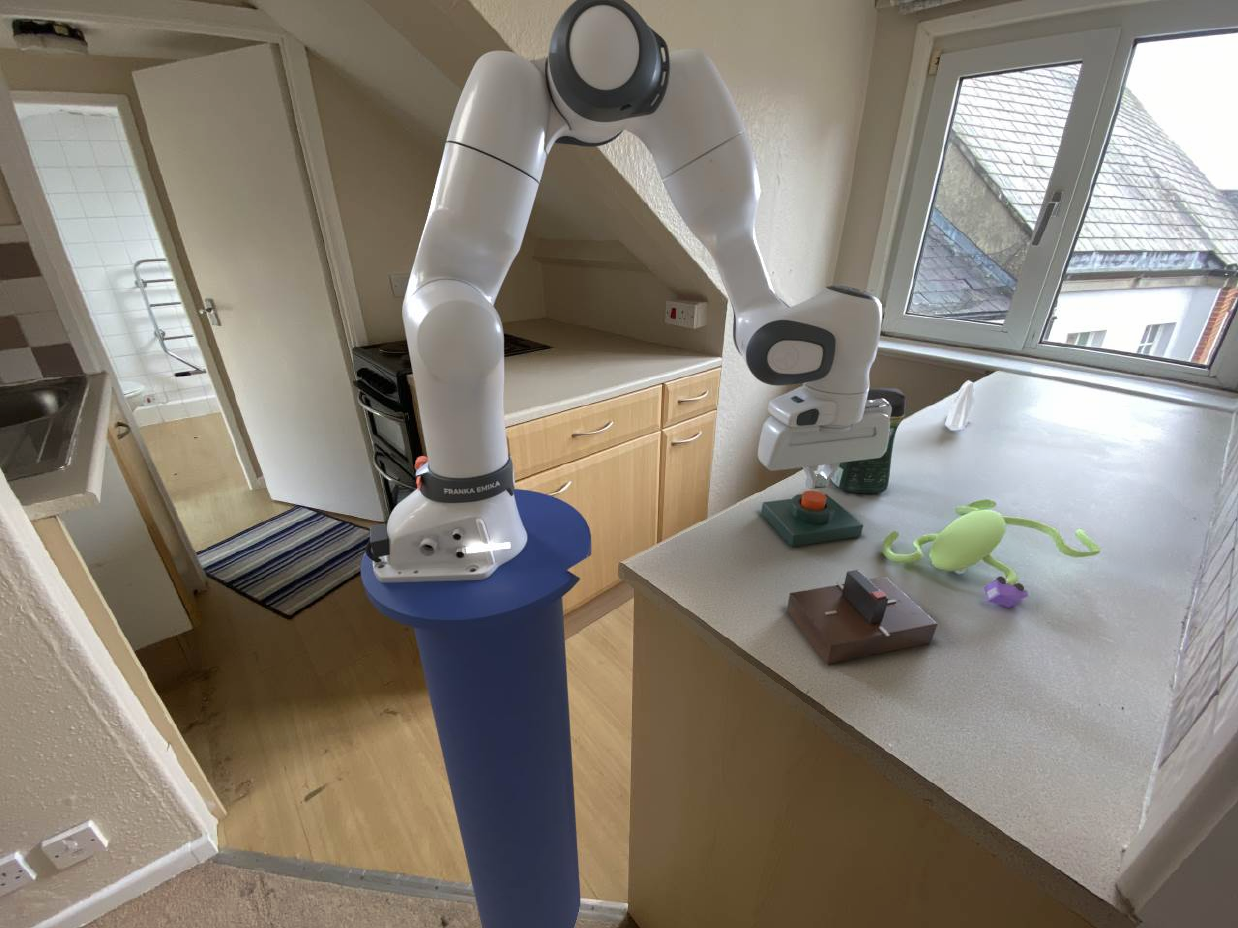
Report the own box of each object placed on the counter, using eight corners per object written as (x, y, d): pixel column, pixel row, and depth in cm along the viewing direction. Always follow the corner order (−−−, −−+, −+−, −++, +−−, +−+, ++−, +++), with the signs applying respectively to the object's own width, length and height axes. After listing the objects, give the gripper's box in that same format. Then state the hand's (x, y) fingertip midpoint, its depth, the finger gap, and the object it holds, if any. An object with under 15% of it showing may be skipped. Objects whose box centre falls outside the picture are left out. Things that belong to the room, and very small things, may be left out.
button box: (791, 547, 80) (795, 524, 78) (760, 513, 89) (763, 492, 87) (860, 536, 83) (866, 514, 81) (824, 504, 92) (828, 484, 90)
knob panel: (828, 667, 60) (833, 646, 58) (784, 609, 68) (788, 590, 67) (933, 645, 63) (940, 624, 61) (879, 592, 71) (884, 573, 70)
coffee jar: (876, 476, 101) (899, 382, 93) (891, 496, 94) (917, 397, 86) (824, 473, 102) (842, 381, 94) (835, 494, 95) (855, 395, 87)
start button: (808, 512, 82) (810, 503, 82) (796, 501, 85) (798, 491, 85) (829, 509, 83) (831, 500, 82) (816, 498, 86) (818, 489, 85)
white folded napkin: (962, 436, 118) (977, 389, 113) (941, 432, 120) (955, 385, 116) (969, 420, 127) (983, 375, 122) (949, 416, 129) (962, 372, 124)
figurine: (1104, 569, 75) (1121, 536, 73) (991, 630, 65) (1006, 594, 62) (976, 509, 90) (986, 480, 88) (866, 550, 79) (874, 519, 77)
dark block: (841, 593, 66) (847, 569, 64) (852, 591, 66) (858, 567, 65) (870, 624, 61) (877, 599, 60) (882, 621, 62) (889, 596, 60)
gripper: (879, 391, 82) (861, 470, 88) (758, 402, 77) (748, 484, 84) (908, 404, 76) (887, 488, 82) (780, 417, 72) (767, 504, 78)
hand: (816, 486), depth 83 cm, fingers closed
